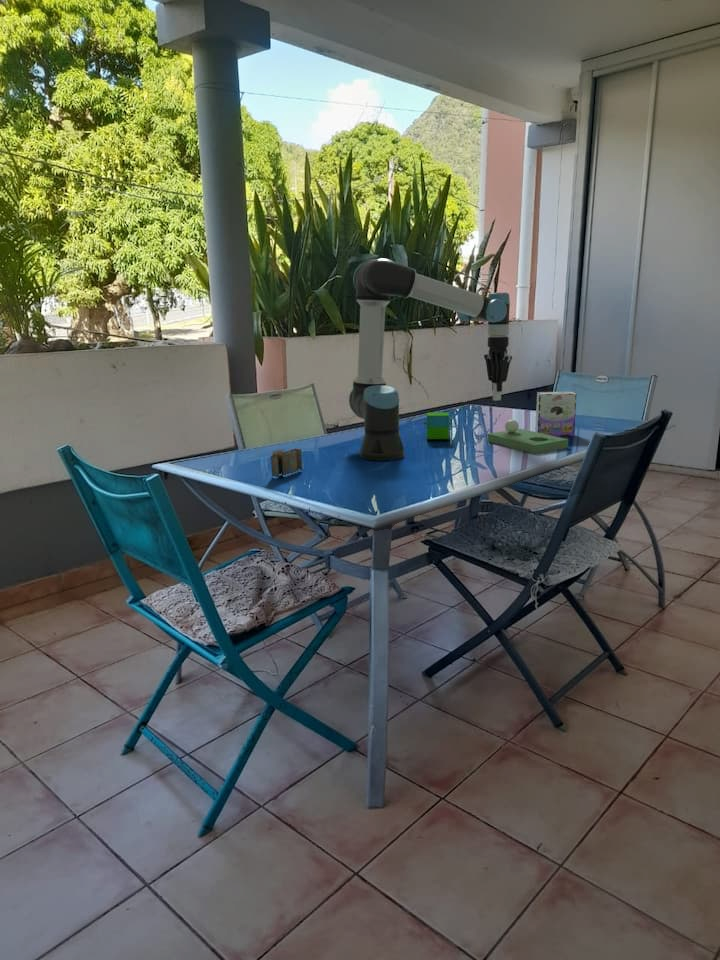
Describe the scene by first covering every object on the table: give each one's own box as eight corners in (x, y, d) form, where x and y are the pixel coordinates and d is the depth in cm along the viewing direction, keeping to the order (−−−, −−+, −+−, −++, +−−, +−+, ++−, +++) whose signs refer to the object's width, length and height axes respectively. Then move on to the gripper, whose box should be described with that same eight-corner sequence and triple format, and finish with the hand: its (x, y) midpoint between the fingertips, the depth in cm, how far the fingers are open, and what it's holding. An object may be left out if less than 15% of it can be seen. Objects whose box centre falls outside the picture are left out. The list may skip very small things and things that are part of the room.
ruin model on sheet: (279, 481, 201) (277, 450, 199) (272, 480, 203) (270, 449, 200) (303, 473, 210) (302, 443, 208) (296, 471, 212) (294, 442, 209)
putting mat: (534, 453, 226) (534, 445, 225) (487, 441, 246) (487, 433, 245) (567, 447, 234) (568, 439, 233) (519, 436, 254) (520, 428, 253)
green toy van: (450, 434, 260) (450, 409, 258) (451, 442, 248) (452, 415, 245) (424, 434, 261) (424, 409, 259) (424, 442, 249) (424, 415, 246)
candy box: (571, 433, 257) (573, 391, 252) (574, 436, 251) (577, 393, 247) (534, 433, 258) (536, 391, 254) (537, 436, 252) (539, 393, 248)
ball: (511, 434, 243) (511, 421, 241) (501, 432, 247) (502, 419, 245) (521, 433, 245) (521, 419, 244) (511, 430, 249) (512, 417, 248)
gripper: (518, 336, 240) (516, 401, 247) (494, 334, 251) (492, 397, 258) (502, 337, 237) (500, 403, 243) (478, 336, 248) (477, 399, 254)
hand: (496, 400), depth 251 cm, fingers closed
